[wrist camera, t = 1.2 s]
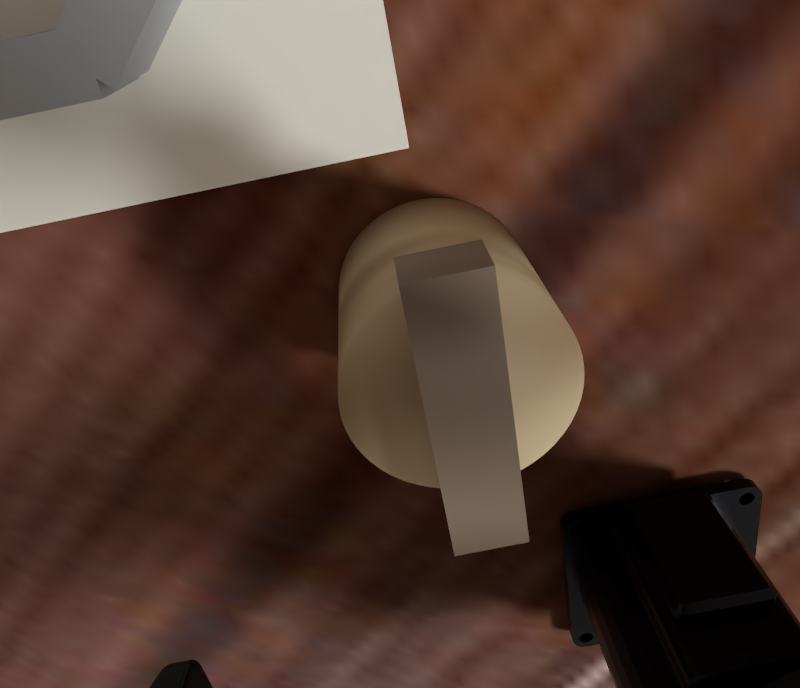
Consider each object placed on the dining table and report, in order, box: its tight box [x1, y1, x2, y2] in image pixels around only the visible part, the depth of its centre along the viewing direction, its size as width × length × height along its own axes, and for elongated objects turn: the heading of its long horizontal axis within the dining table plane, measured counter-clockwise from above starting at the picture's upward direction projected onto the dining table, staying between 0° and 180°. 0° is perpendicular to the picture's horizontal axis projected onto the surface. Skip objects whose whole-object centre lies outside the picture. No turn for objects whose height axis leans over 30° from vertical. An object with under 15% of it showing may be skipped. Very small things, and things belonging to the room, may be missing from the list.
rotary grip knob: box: [338, 198, 584, 556], centre depth 15 cm, size 6×5×6 cm
